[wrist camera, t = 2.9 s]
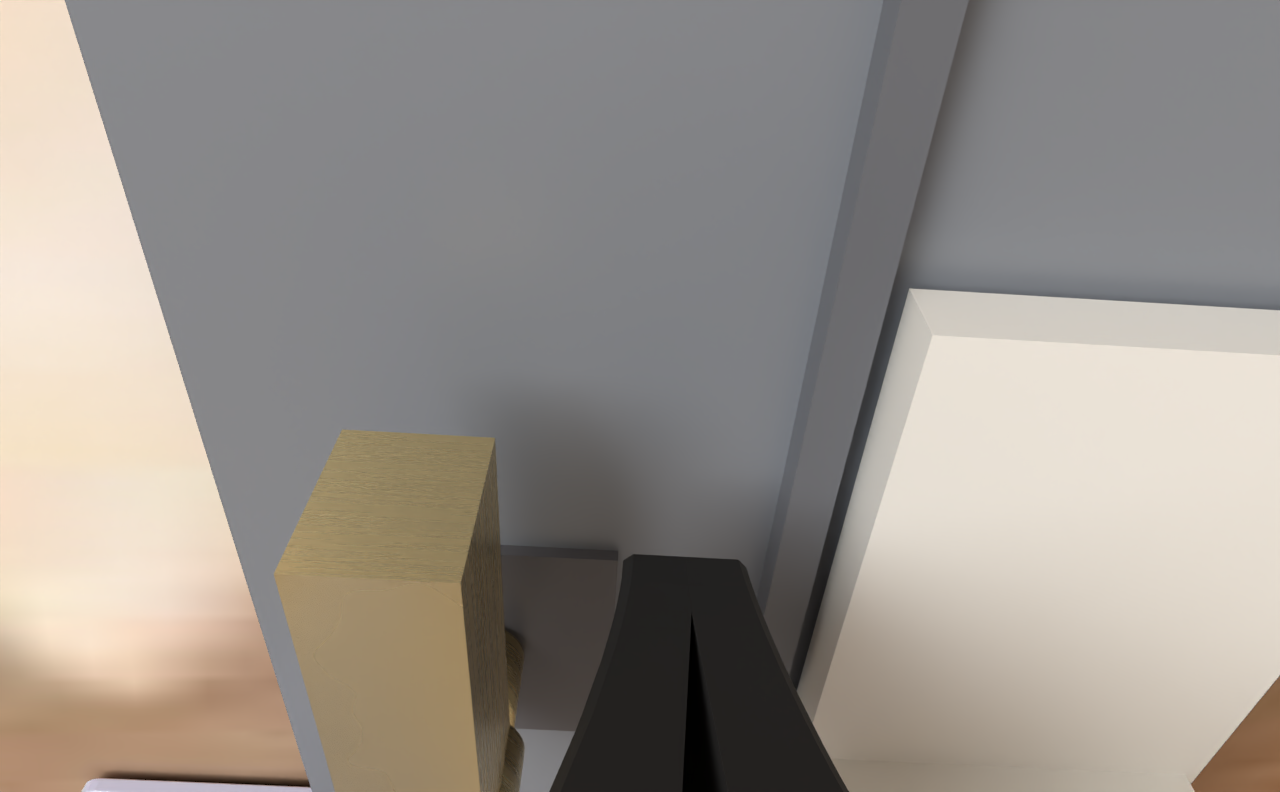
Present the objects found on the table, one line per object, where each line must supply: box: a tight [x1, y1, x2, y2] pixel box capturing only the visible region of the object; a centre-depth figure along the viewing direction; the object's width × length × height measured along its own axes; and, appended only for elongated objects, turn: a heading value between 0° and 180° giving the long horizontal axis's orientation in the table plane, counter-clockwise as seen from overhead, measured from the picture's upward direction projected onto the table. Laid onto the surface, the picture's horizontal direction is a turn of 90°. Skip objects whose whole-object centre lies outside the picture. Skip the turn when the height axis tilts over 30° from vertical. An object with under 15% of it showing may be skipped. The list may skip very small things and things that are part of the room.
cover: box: [797, 288, 1280, 792], centre depth 12 cm, size 10×6×3 cm, turn 177°
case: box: [65, 0, 1280, 792], centre depth 12 cm, size 20×16×3 cm
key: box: [274, 429, 525, 792], centre depth 11 cm, size 7×2×4 cm, turn 177°
